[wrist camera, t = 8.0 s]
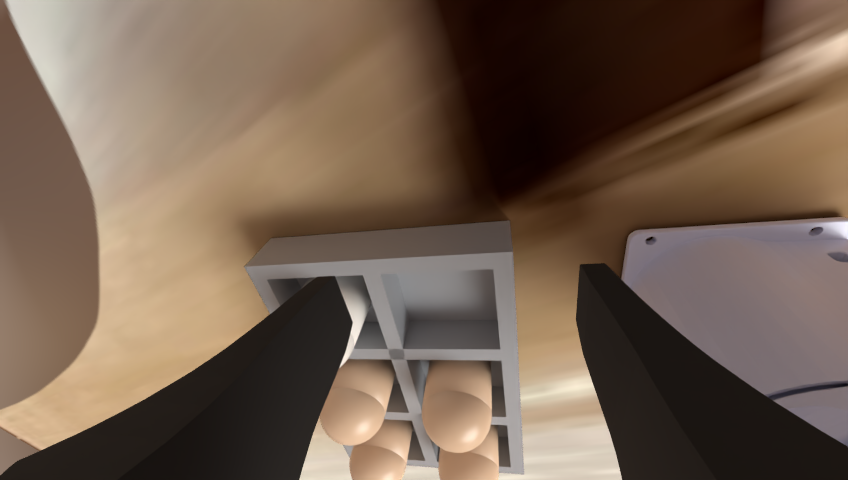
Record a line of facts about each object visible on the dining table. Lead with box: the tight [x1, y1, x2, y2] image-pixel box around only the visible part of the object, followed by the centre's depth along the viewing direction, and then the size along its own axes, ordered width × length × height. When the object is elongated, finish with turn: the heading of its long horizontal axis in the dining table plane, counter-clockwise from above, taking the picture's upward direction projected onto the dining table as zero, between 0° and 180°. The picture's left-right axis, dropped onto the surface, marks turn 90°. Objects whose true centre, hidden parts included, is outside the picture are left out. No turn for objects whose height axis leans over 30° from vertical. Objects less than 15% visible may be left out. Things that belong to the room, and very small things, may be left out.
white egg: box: [301, 275, 372, 368], centre depth 21 cm, size 4×4×6 cm
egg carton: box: [244, 221, 524, 480], centre depth 24 cm, size 15×22×7 cm
